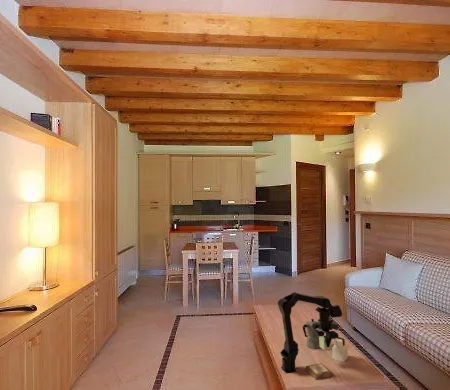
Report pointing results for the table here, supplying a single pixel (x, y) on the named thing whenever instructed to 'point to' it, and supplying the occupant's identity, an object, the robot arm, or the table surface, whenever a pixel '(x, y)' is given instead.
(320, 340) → the sage block
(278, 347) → the table surface
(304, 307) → the table surface
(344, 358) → the medicine bottle
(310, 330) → the coffeepot
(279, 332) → the table surface
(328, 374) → the walnut base
